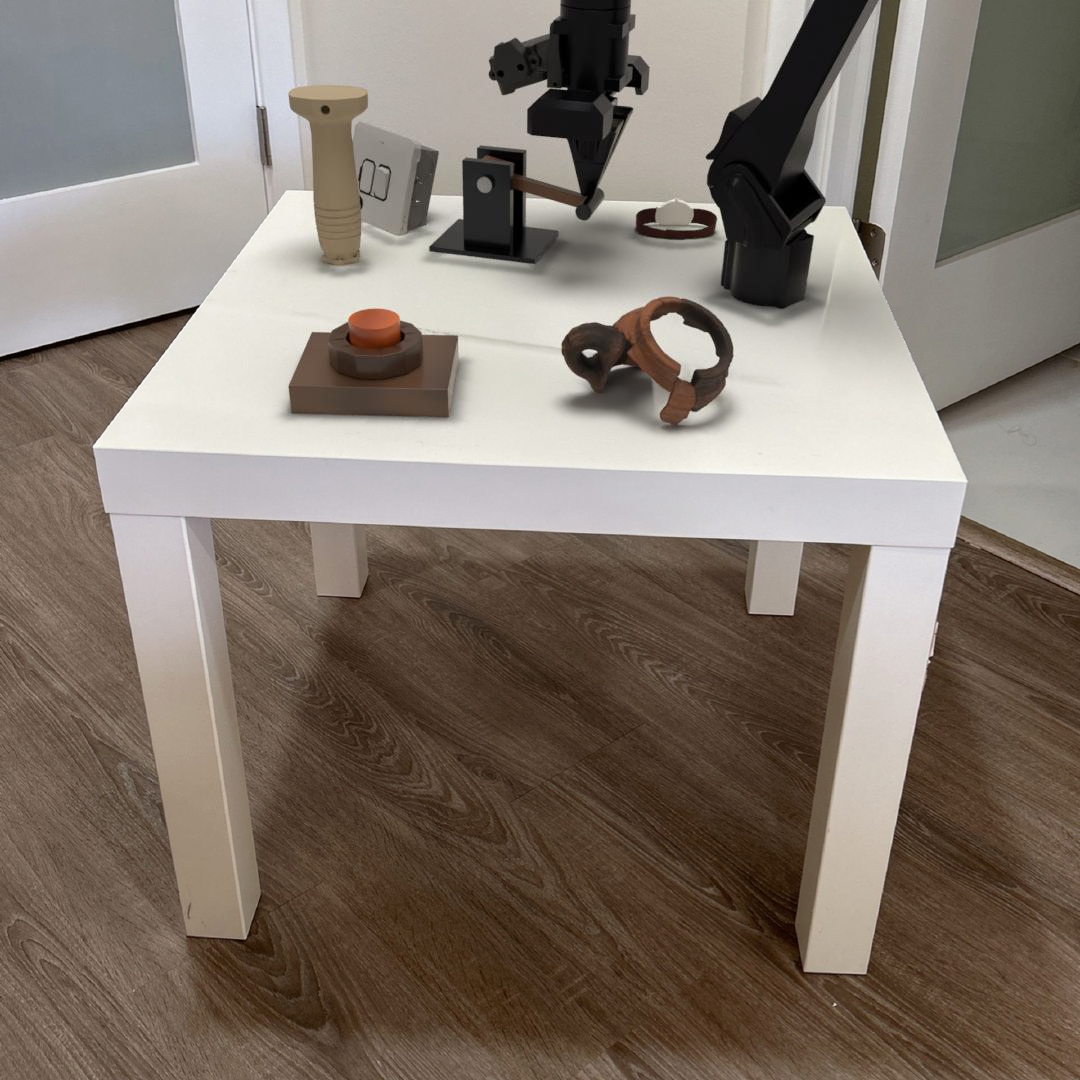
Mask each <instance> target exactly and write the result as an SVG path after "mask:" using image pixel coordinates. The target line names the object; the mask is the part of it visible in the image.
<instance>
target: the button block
mask: <svg viewBox="0 0 1080 1080" xmlns="http://www.w3.org/2000/svg"><path fill="white" fill-rule="evenodd" d="M400 330H401V342H400V343H398V344H397V345H395V346H393V347H388V348H383V349H362V348H359V347H355V346H352V345H351V344H350V334H349V322H348V321H346V322H345V323H342V324H341V325H339V326H337V327H336V328H333V329H332V330H331V331H330V332H329V331H328V332H326V331H311V333H310V335H309V338H308V340H307V341H306V345H305V348H304V349H303V352H302V354H301V356H300V358H299V360H298V362H297V365H296V367H295V370H294V372H293V375H292V377H291V379H290V381H289V384H288V395H289V403H290V412H291V413H290V414H293V415H294V414H295V415H296V414H297V415H298V414H299V415H301V414H302V415H332V416H333V415H338V416H372V417H373V416H375V417H376V416H378V417H412V418H413V417H416V418H418V417H420V418H449V417H450V413H451V408H452V402H453V396H454V391H455V384H456V380H457V373H458V367H459V359H460V358H459V336H458V335H457V334H456V335H455V334H454V335H453V334H451V335H450V334H423V333H422V331H420V329H419V328H417V327H416V326H415V325H414V324H413V323H411V322H407V321H404V320H401V319H400Z"/></svg>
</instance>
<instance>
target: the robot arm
mask: <svg viewBox="0 0 1080 1080" xmlns="http://www.w3.org/2000/svg"><path fill="white" fill-rule="evenodd" d="M879 1H880V0H813V2H812V4H811V6H810V8H809V10H808V12H807V13H806V16H805V18H804V20H803V21H802V24H801V25H800V28H799V30H798V31H797V33H796V36H795V37H794V40H793V41H792V43H791V45H790V47H789V49H788V51H787V53H786V55H785V57H784V59H783V61H782V63H781V65H780V67H779V69H778V70H777V72H776V75H775V77H774V79H773V81H772V83H771V84H770V86H769V89H768V90H767V92H766V94H765V96H764V97H763V98H762V99H761V98H760V97H759V96H756V97H754V98H752V99H750V100H749V101H747V102H745V103H743V104H741V105H740V106H738V107H736V108H734V109H732V110H731V111H729V112H728V114H727V116H726V118H725V120H724V124H723V126H722V130H721V132H720V136H719V138H718V141H717V143H716V144H715V145H714V147H713V148H712V150H710V152H708V153H707V154H706V155H705V159H706V160H708V161H712V162H711V164H710V166H709V168H708V170H707V174H706V186H707V187H708V189H709V193H710V196H711V199H712V200H713V202H714V203H715V205H716V207H717V208H719V213H720V216H721V220H722V221H721V222H722V225H723V230H724V234H725V238H726V240H725V241H724V248H723V256H722V266H721V276H720V286H721V287H723V289H724V290H727V291H729V293H730V295H731V296H732V297H733V298H734V299H735V300H737V301H739V302H742V303H744V304H748V305H751V306H757V307H766V308H767V307H770V308H776V309H780V310H784V309H787V308H789V307H791V306H794V305H796V304H798V303H800V302H803V301H804V300H805V298H806V291H807V285H808V278H809V272H810V266H811V260H812V252H813V246H814V239H815V235H814V234H811V233H809V232H808V231H807V229H806V228H807V227H808V226H809V225H810V224H812V223H815V222H816V221H817V219H818V218H819V215H820V214H821V212H822V210H823V208H824V207H825V205H826V202H827V200H826V197H825V196H824V194H823V193H822V191H821V190H820V188H819V187H818V186H817V184H816V183H815V182H814V180H813V179H812V177H811V176H810V175H809V173H808V172H807V170H806V168H805V167H806V164H807V162H808V158H809V155H810V154H811V153H810V152H811V149H812V147H813V143H814V139H815V133H816V127H817V122H818V117H819V113H820V110H821V107H822V105H823V103H824V102H825V100H826V98H827V96H828V94H829V93H830V91H831V89H832V87H833V85H834V84H835V81H836V80H837V78H838V76H839V74H840V73H841V71H842V69H843V67H844V65H845V63H846V62H847V60H848V58H849V56H850V54H851V53H852V51H853V49H854V47H855V45H856V43H857V42H858V39H859V37H860V36H861V34H862V32H863V31H864V28H865V27H866V25H867V23H868V22H869V19H870V18H871V16H872V14H873V12H874V10H875V8H876V6H877V5H878V3H879ZM559 4H560V5H559V16H557V17H556V18H554V19H553V21H552V22H551V23H550V24H549V33H546V34H543V35H540V36H537V37H534V38H530V39H527V40H524V41H520V40H519V38H517V37H514V38H512V39H510V40H508V41H505V42H503V41H501V42H499V43H498V44H496V45H495V46H494V48H493V54H492V56H490V57H489V59H488V63H489V66H490V70H489V71H488V77H489V79H490V80H491V81H494V82H495V81H496V82H497V85H498V87H499V90H500V94H501V96H508V95H510V94H514V93H515V92H516V91H517V90H518V89H522V88H525V87H528V86H531V85H534V84H538V83H540V82H545V81H546V88H548V90H546V91H545V92H544V93H542V94H541V95H540V96H539V97H538V98H537V99H536V100H535V101H534V102H532V104H531V105H530V106H528V108H526V133H527V134H528V135H530V136H533V137H544V138H556V139H566V140H567V144H568V147H569V150H570V154H571V158H572V162H573V166H574V171H575V176H576V178H577V184H578V187H579V191H580V192H579V193H581V195H582V196H586V197H593V196H594V194H595V193H596V191H597V189H598V188H599V187H600V184H601V182H602V179H603V177H604V175H605V173H606V170H607V168H608V167H609V164H610V162H611V159H612V157H613V155H614V153H615V150H616V148H617V146H618V144H619V142H620V141H621V137H622V136H623V134H624V132H625V129H626V128H627V124H628V123H629V121H630V119H631V116H632V114H633V112H634V107H633V106H627V105H618V99H619V98H618V97H617V96H615V95H616V94H617V93H620V92H622V90H623V89H624V88H634V92H635V95H636V96H643V95H644V94H645V93H646V92H647V91H648V90H649V84H650V83H649V82H650V66H649V65H648V63H647V62H646V60H644V58H643V57H642V56H641V55H633V54H629V46H630V32H633V30H634V29H635V28H636V16H637V15H636V14H635V13H631V12H632V11H631V9H632V0H560V3H559ZM565 88H566V89H565Z"/></svg>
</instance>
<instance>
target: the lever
mask: <svg viewBox="0 0 1080 1080" xmlns="http://www.w3.org/2000/svg"><path fill="white" fill-rule="evenodd" d="M482 159H486V160H496V161H505V160H502V159H498V158H495V157H492V156H488V155H486V156H485V157H484V158H482ZM505 162H509V161H505ZM514 168H515V163H513V189H516V190H520V191H523V192H526V194H531V195H533V196H537V197H540V198H544V199H547V200H550V201H552V202H553V201H554V202H557V203H560V204H564V205H567V206H570V207H573V208H574V207H575V211H574V212H575V216H576V217H577V219H578V220H581V221H588V220H589V219H590V218H591V217H592V216H593V214H594V213H595V212H596V211H597V209H598V208H599V206H601V204H602V203H603V201H604V199H605V192H604V190H603V189H602V188H600V187H598V189H597V191H596V193H595V194H594V196H593V197H586V196H582V195H581V192H579V191H575V190H571V189H568V188H565V187H562V186H558V185H555V184H551V183H549V182H545V181H542V180H538V179H535V178H532V177H528V176H526V177H525V176H521V175H518V174H515V173H514Z"/></svg>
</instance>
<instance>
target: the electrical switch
mask: <svg viewBox="0 0 1080 1080" xmlns="http://www.w3.org/2000/svg"><path fill="white" fill-rule="evenodd" d="M352 142H353V151H354V159H355V167H356V175H357V182H358V189H359V197H360V207H361V209H360V210H361V222H364V223H366V224H368V225H370V226H371V227H372V226H373V227H375V228H377V229H379V230H382V231H383V232H386V233H388V234H390V235H393V236H397V237H401V236H405V235H407V233H408V231H410V230H415V229H418V228H420V227H421V228H422V227H424V226H426V224H427V219H428V215H429V214H428V213H429V209H430V202H431V197H432V192H433V186H434V181H435V175H436V170H437V166H438V161H439V160H438V159H439V156H440V155H439V154H440V152H439V150H436V149H433V148H430V147H428V146H425V145H422V142H421V140H419V139H418V138H414V137H412V136H409V135H405V134H403V133H400V132H397V131H395V130H392V129H390V128H386V127H384V126H380V125H379V124H375V123H372V122H369V121H365V120H364V121H362V120H359V121H358V122H357V123H356V124H355V125H354V131H353V135H352Z"/></svg>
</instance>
